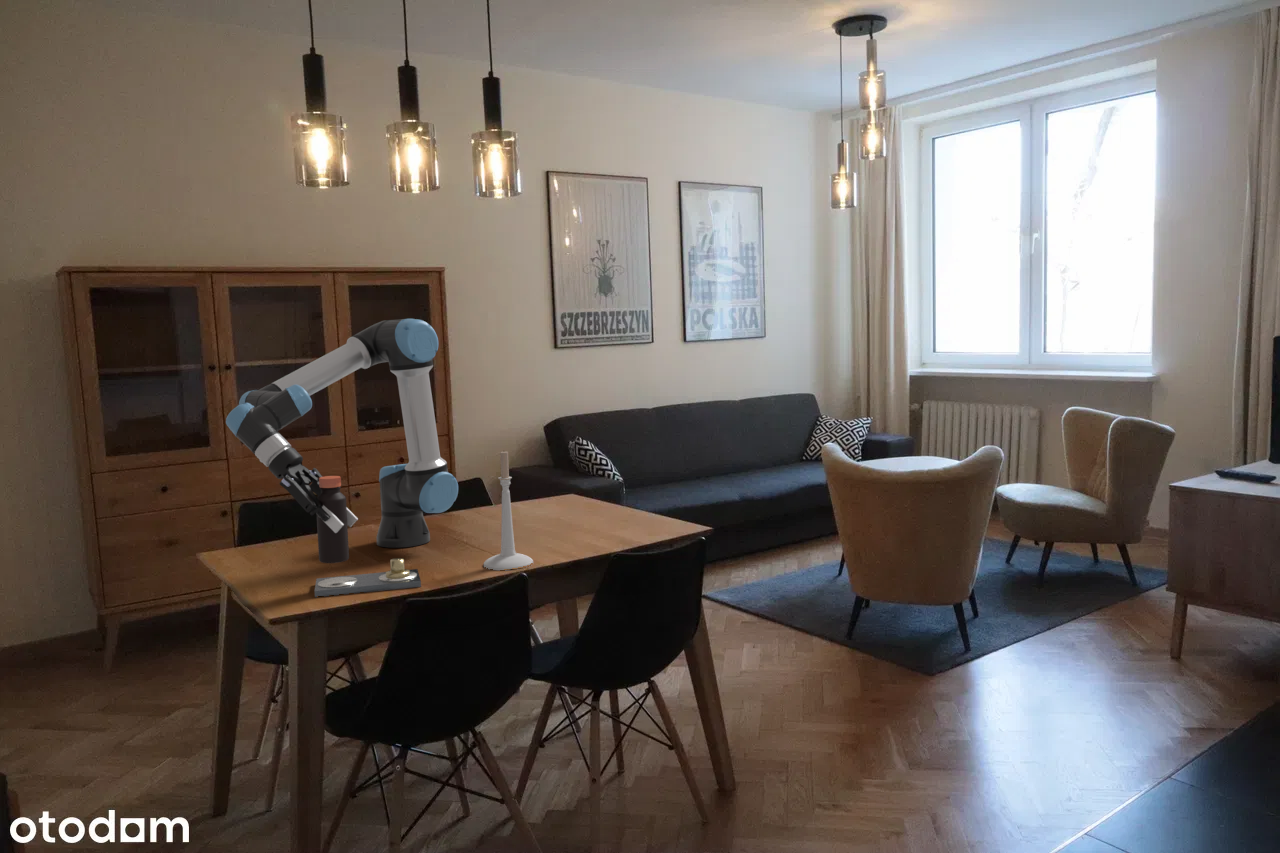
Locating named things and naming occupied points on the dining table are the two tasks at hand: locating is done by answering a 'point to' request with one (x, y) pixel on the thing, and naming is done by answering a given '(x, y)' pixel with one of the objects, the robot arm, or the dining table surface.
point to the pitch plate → (370, 581)
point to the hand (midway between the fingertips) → (346, 525)
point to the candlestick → (506, 528)
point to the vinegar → (329, 542)
